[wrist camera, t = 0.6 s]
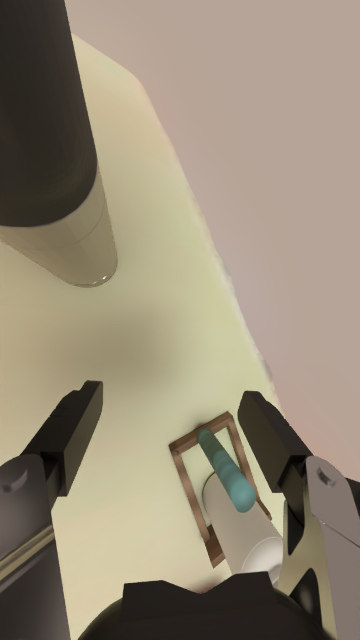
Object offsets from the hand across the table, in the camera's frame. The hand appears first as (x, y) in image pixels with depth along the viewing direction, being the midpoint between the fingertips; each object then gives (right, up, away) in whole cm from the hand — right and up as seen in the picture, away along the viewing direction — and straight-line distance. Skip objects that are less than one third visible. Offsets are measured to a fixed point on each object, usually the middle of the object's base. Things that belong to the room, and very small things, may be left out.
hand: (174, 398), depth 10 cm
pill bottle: (+8, -27, +23) cm, 36 cm away
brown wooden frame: (+7, -24, +22) cm, 33 cm away
